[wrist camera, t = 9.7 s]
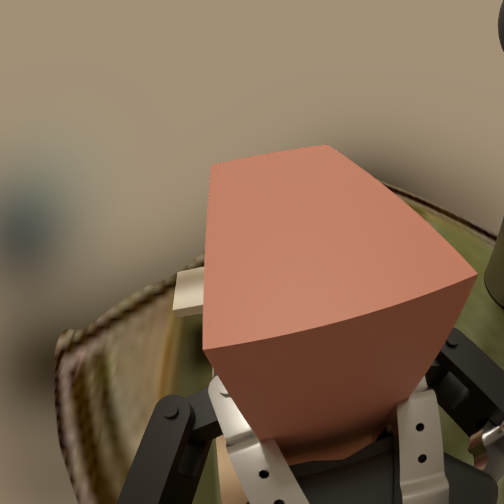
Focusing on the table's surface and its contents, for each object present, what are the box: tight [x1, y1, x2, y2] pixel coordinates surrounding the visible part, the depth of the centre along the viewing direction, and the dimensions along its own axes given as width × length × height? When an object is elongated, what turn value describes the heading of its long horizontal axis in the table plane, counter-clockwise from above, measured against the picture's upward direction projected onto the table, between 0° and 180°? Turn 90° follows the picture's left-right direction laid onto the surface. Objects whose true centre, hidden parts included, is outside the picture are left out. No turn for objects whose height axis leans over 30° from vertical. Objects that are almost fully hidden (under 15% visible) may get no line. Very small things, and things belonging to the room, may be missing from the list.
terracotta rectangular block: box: [203, 144, 478, 466], centre depth 10 cm, size 7×4×14 cm, turn 6°
